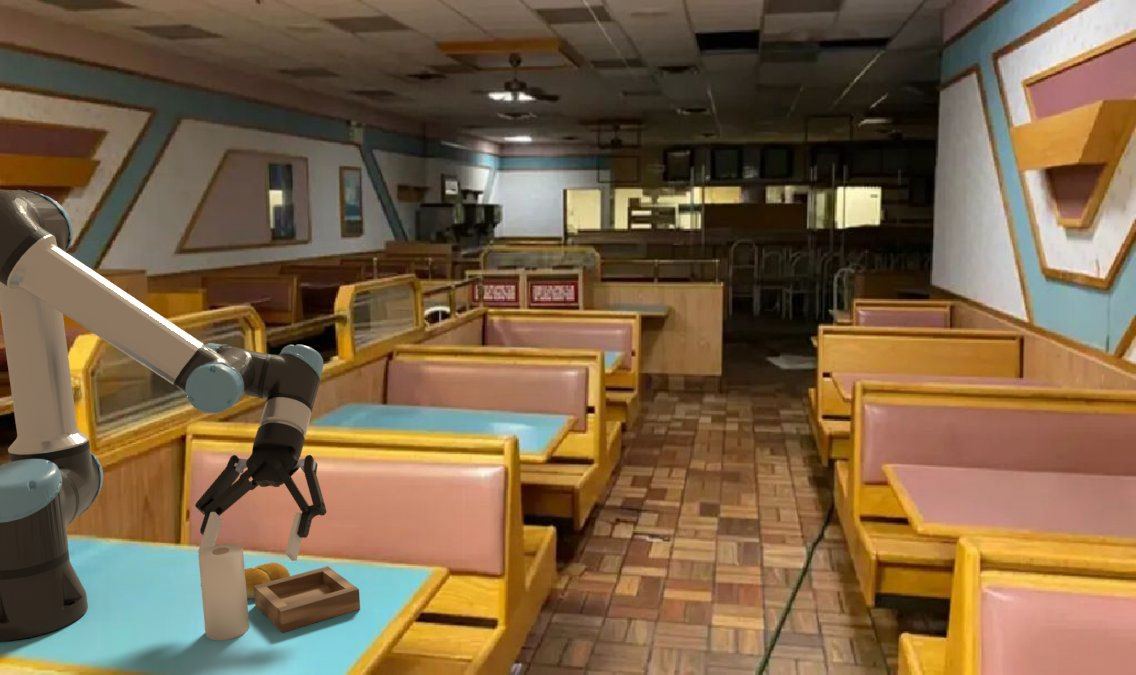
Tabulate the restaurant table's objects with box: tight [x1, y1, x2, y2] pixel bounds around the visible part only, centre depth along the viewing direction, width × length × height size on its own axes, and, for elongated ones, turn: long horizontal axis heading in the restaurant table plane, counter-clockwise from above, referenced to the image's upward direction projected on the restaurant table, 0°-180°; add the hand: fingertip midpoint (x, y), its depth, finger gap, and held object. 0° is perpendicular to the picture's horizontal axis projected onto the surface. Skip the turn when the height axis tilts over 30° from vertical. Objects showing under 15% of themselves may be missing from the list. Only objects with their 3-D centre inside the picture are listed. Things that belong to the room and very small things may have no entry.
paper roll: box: [198, 543, 250, 641], centre depth 134 cm, size 6×6×12 cm
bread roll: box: [244, 562, 291, 600], centre depth 150 cm, size 8×9×4 cm
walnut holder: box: [254, 565, 361, 633], centre depth 142 cm, size 12×12×3 cm
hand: (247, 556), depth 138 cm, fingers open, 13 cm apart
